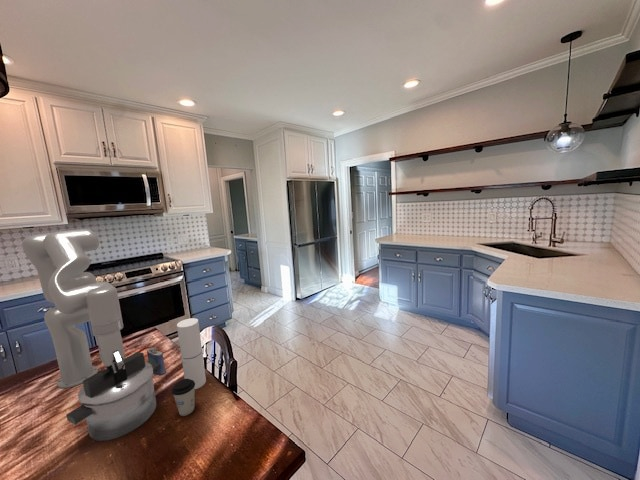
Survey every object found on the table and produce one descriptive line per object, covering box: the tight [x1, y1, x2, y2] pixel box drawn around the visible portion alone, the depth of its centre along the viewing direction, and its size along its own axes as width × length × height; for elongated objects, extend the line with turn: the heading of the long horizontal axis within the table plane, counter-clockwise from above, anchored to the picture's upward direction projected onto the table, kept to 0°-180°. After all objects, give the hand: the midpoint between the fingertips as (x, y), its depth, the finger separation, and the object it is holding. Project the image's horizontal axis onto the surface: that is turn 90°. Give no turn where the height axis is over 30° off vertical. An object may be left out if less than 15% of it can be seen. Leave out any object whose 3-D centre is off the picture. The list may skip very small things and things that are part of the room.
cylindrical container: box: [176, 317, 207, 390], centre depth 100 cm, size 7×7×25 cm
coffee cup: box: [171, 378, 196, 417], centre depth 88 cm, size 7×7×10 cm
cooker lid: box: [77, 351, 154, 406], centre depth 85 cm, size 19×19×6 cm
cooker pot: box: [65, 362, 161, 442], centre depth 87 cm, size 18×26×12 cm
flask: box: [146, 346, 166, 376], centre depth 109 cm, size 9×3×11 cm, turn 61°
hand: (117, 375), depth 85 cm, fingers open, 9 cm apart
